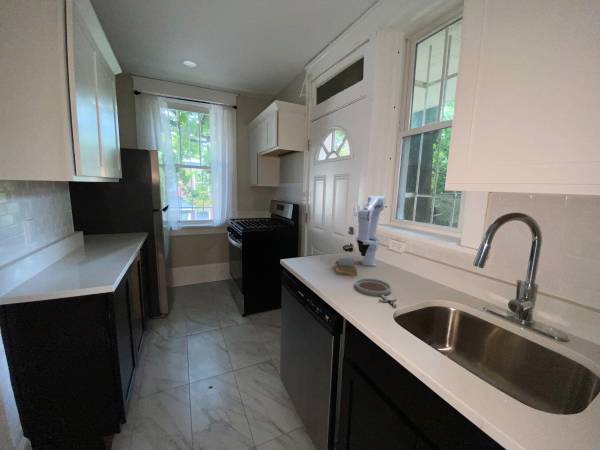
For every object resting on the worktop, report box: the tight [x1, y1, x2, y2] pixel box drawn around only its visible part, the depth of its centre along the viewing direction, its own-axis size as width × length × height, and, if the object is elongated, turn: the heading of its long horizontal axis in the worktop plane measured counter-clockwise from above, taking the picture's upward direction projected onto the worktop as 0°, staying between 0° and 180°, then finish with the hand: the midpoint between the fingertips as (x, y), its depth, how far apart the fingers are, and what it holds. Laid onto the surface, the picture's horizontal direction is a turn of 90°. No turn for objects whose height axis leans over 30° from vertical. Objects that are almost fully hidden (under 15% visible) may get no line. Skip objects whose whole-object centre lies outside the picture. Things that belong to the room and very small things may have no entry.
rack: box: [334, 260, 358, 276], centre depth 146 cm, size 14×11×4 cm
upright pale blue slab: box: [338, 256, 354, 266], centre depth 146 cm, size 2×8×7 cm, turn 87°
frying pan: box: [354, 277, 397, 309], centre depth 116 cm, size 17×3×28 cm
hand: (362, 253), depth 145 cm, fingers open, 7 cm apart
